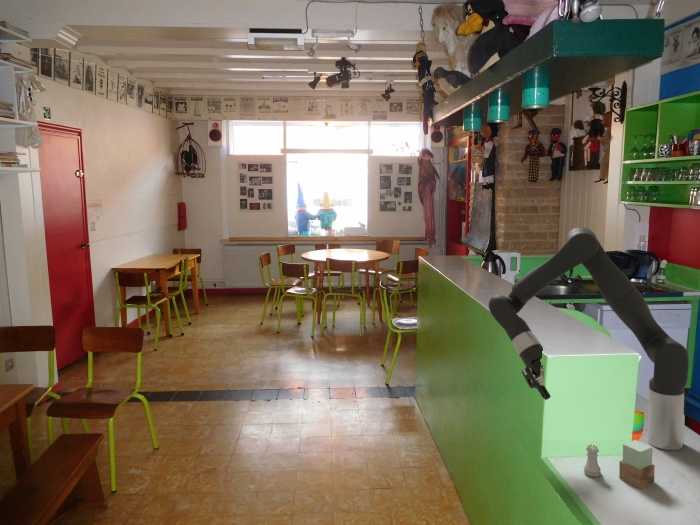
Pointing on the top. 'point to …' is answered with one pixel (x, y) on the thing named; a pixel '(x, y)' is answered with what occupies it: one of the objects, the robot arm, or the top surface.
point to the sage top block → (637, 454)
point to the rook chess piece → (592, 462)
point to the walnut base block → (636, 474)
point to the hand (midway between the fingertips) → (558, 395)
